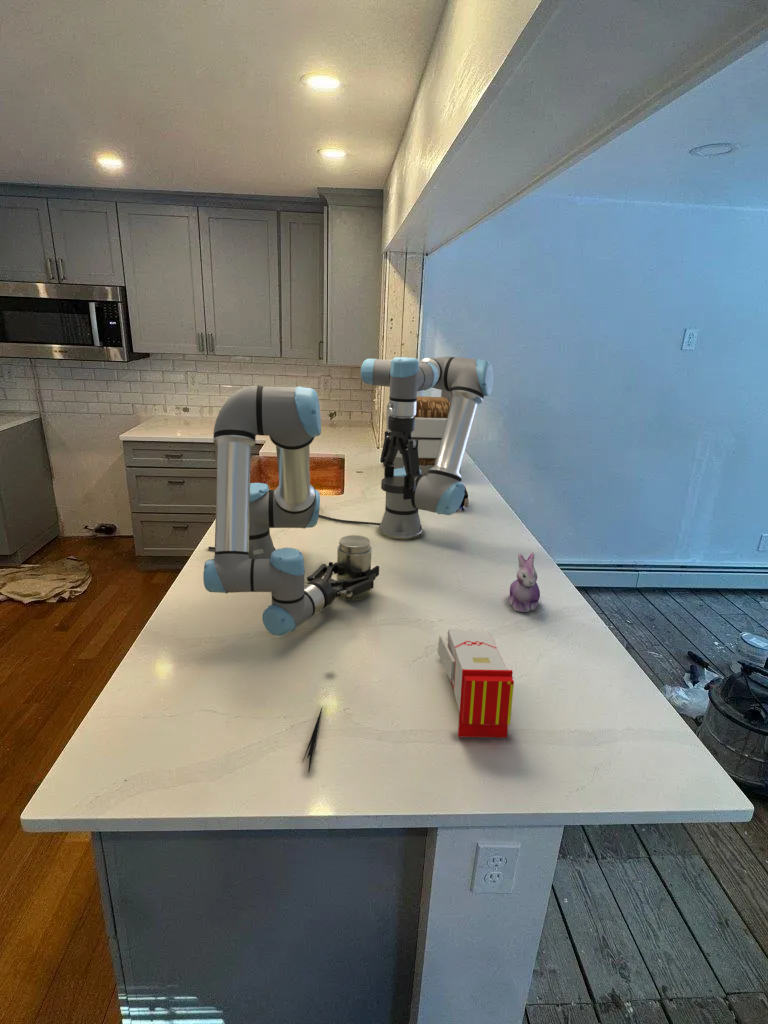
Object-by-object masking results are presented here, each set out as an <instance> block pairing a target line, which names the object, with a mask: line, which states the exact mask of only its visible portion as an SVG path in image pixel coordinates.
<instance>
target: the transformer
mask: <svg viewBox="0 0 768 1024" xmlns="http://www.w3.org/2000/svg"><path fill="white" fill-rule="evenodd" d="M440 393H441V394H440V396H418V395H417V407H416V415H415V416H414V417H415V418H416V421H415V430H414V431H412V433H411V437H412V439H413V440H418V457H419V467H434V465H435V461H436V458H437V454H438V450H439V447H440V443H441V439H442V436H443V432H444V428H445V424H446V421H447V417H448V413H449V410H450V406H451V402H452V398H451V396H450V395H449V393H450V391H444V390H441V392H440ZM385 414H386V415H385V423H386V428H385V431H390V430H389V429H388V417H389V416H390V414H389V402H388V404H387V405H386V413H385ZM406 450H408V448H407V449H406ZM384 458H386V457H384ZM393 463H394V464H393V467H394V469H397V468H405V467H404V463H403V458H402V454H400V452H399V450H398V452H397V455H396V457H395V460H394V462H393ZM461 472H462V466H461V467H460V470H459V474H460V475H461Z"/></svg>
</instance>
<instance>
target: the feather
mask: <svg viewBox="0 0 768 1024" xmlns="http://www.w3.org/2000/svg"><path fill="white" fill-rule="evenodd" d="M329 675H330V676H331V675H332V674H331V673H330V674H329ZM322 710H323V707H321V708H320V710H319V713H318V716H317V719H316V723H315V725H314V728H313V731H312V733H311V737H310V739H309V742H308V745H307V748H306V751H305V754H304V757H303V760H302V763H301V767H302V765H303V763H304V761H305V758H308V759H309V760H308V762H307V763H308V764H307V766H308V771H310V770H311V766H312V765H311V764H312V760H313V757H315V756H314V755H315V751H316V749H315V746H317V739H318V733H319V729H320V722H321V717H322V712H323V711H322ZM313 754H314V755H313ZM306 755H307V757H306Z"/></svg>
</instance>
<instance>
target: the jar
mask: <svg viewBox="0 0 768 1024" xmlns="http://www.w3.org/2000/svg"><path fill="white" fill-rule="evenodd" d="M372 549H373V548H372V546H371V540H370V539H369V538H368V537H365V536H363V535H356V534H352V535H346V536H343V537H341V538H339V542H338V545H337V551H336V552H337V553H336V554H337V555H336V562H337V574H336V580H337V581H338V580H343V579H345V580H350V579H354V578H359V577H363V576H364V574H365V573H367V572H368V571H370V570H371V569H372V552H373V551H372ZM370 594H371V589H370V590H368V591H365V592H363V593H361V594H358V595H356V596H354V597H352V598H351V599H350V600H349V601H360V600H364V599H366V598H368V597H369V596H370ZM339 598H341V599H343V600H346V596H342V595H341V596H340V597H339Z"/></svg>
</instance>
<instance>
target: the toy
mask: <svg viewBox="0 0 768 1024" xmlns="http://www.w3.org/2000/svg"><path fill="white" fill-rule="evenodd" d="M446 640H447V643H446V641H445V639H444V636H443V635H442V634H439V637H438V646H437V656H438V657H439V659H440V661H441V663H442V666H443V668H444V670H445V672H446V674H447V677H448V679H449V681H450V684H451V687H452V690H453V693H454V697H455V701H456V705H457V708H458V711H459V714H458V715H459V716H458V730H457V731H458V732H457V737H458V738H508V731H509V726H510V725H511V717H512V707H513V697H514V696H513V695H514V684H515V680H514V679H513V673H514V671H513V670H512V669H508V667H507V665H506V662H505V661H504V659H503V658H502V655H501V653H500V651H499V649H498V647H497V643H496V639H495V637H494V635H493V634H491V632H490V631H489V629H467V628H466V629H465V628H463V629H461V628H460V629H459V628H448V630H447V639H446Z"/></svg>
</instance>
